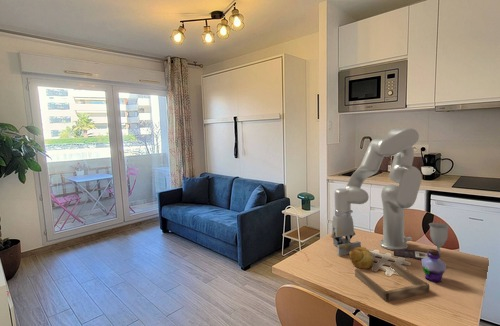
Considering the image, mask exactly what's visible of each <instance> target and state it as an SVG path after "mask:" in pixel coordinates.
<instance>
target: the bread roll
mask: <svg viewBox="0 0 500 326" xmlns="http://www.w3.org/2000/svg"><path fill="white" fill-rule="evenodd" d="M348 255H349V258H350V262H351V264H352V265H353V266H354V267H356V268H357V269H359V268H360V269H369V268H371V267H372V266H373V264H374V258H373V254H372V253H371V250H369V249H367V248H366V247H364V246H361V247H356V248H355V249H353V250H351V251H350V253H349V254H348Z"/></svg>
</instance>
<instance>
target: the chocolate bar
mask: <svg viewBox="0 0 500 326" xmlns="http://www.w3.org/2000/svg"><path fill="white" fill-rule="evenodd" d="M427 252H428V251H423V250H416V249H409V248H407V249H404V250H393V256H394V257H397V258H398V257H399V258H405V259H413V260H418V261H419V260H420V261H422V260H421V259H423V258H429V257H428V256H427Z"/></svg>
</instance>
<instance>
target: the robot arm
mask: <svg viewBox="0 0 500 326" xmlns="http://www.w3.org/2000/svg"><path fill="white" fill-rule="evenodd" d="M419 139H420V135H419V132H418V131H417V129H415V128H413V127H397V128H392V129H390V130H389V131H388V133H387V137H386V138H382V137H381V138H380V137H379V138H374V139H372V140H371V141H370V142H369V144H368V146H367V149H366V151H365V154H364V155H363V158H362V160H361V163H360V165H359V167H357V169H355V171H353V173H352V175H351V176H350V177H349V179H348V181H347V184H346V186H345V188H336V189H335V190H334V215H333V217H332V222H331V235H330V238H332V240H333V239H336V240H337V245H340V244H342V242H341V239H342V237H344V238H345V239H347V240H348V241H350V242H351V239H352V238H353V237H354V236H355V235H356V232H355V228H354V227H355V226H354V225H355V224H354V220H353V216H352V213H354V212H353V210H352V209H351V208H352V206H351V204H352V205H364V204H366V203H367V202H368V201H369V193H368V192H367V191H366V190H365V189H364V188H363V189H362V186H363V184H364V182H365V181H366V180H367V179H368V178H369V177H371V176H373V175H376V174H378V172H379V169H380V167H381V164H382V162H383V160H384V158H385V157H386V158H389V157H393V160H392V163H391V167H390V171H389V174H388V175H389V179H390V180H391V181H392V182H394V183H396V184H398V185H396V184H387V185H385V186H384V187H383V188H382V190H381V193H380V194H381V195H380V198H381V202H382V212H383V213H382V215H383V216H382V218H383V219H382V220H383V221H382V228H383V229H382V235H383V237H382V238H383V239H381V240H380V241H379V245H380V246H381V247H382V248H384V249H386V250H390V251H394V250H404V249H409V248H408V244H407V242H411V241H413V238H412V237H411V236H407V237H406V236H405V209H410V208H412V206H414V205H415V202H416V200H417V199H418V194H419V191H420V187H421V184H422V172H421V171H420V170H419V169H418V168H417V167H416V166H413V162H414V158H415V150H414V148H413V146H414V145H416V144H417V143H418V141H419ZM335 235H336V236H337V237H336V236H335Z"/></svg>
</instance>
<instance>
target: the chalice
mask: <svg viewBox="0 0 500 326" xmlns="http://www.w3.org/2000/svg"><path fill="white" fill-rule="evenodd" d="M428 225H429V236H430V239H431V241H432V243H433V245H435V247H436V250H438V251H439V253H440V252H441V249H440V248H441V247H443V246H444V245H445V244H446V242H447V240H448V236H449V235H448V234H449V232H448V231H449V228H450V225H448V224H446V223H441V222H430V223H428ZM440 254H441V253H440ZM439 260H441V261H443V260H442V259H441V257H440V258H439Z"/></svg>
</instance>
